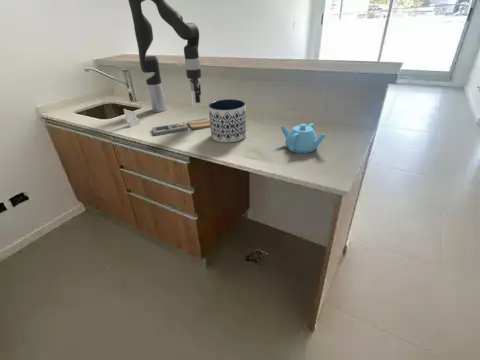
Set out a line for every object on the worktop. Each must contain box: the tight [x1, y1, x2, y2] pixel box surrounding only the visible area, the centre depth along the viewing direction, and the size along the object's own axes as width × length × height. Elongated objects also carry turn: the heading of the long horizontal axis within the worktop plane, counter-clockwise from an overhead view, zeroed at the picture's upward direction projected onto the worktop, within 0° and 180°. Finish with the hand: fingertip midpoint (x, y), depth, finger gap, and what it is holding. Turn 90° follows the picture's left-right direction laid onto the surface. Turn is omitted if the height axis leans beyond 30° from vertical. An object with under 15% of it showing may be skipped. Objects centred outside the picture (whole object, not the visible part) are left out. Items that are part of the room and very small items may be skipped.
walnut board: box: [186, 117, 210, 131], centre depth 154 cm, size 12×12×1 cm
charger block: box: [190, 89, 203, 107], centre depth 146 cm, size 4×4×9 cm
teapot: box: [280, 122, 327, 154], centre depth 122 cm, size 15×17×11 cm
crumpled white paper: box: [123, 108, 141, 128], centre depth 156 cm, size 4×10×9 cm, turn 143°
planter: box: [207, 98, 247, 143], centre depth 135 cm, size 18×18×16 cm
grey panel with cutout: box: [151, 122, 189, 136], centre depth 149 cm, size 9×18×2 cm, turn 113°
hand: (196, 101), depth 147 cm, fingers closed on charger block, 4 cm apart
